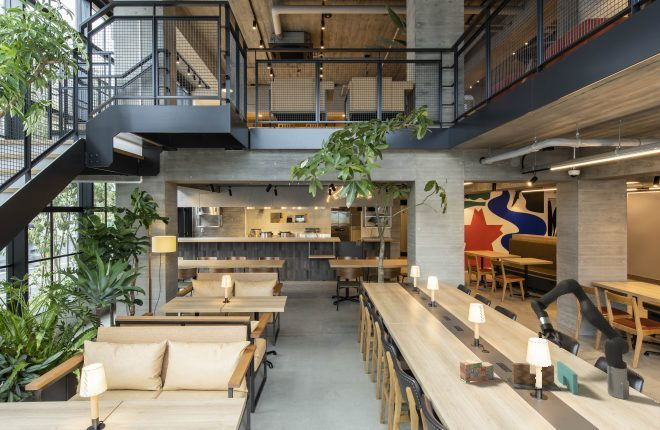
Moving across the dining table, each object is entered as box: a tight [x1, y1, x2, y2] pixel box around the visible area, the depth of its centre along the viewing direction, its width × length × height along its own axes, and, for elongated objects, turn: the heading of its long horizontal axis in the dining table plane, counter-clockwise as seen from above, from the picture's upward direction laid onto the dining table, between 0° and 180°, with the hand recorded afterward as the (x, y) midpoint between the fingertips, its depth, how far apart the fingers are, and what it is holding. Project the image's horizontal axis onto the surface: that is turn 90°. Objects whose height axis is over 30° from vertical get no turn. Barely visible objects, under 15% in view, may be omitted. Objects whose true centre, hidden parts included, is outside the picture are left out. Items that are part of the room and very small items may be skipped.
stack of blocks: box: [459, 358, 495, 382], centre depth 240 cm, size 21×6×12 cm, turn 106°
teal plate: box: [556, 361, 579, 396], centre depth 228 cm, size 20×2×12 cm, turn 172°
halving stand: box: [506, 362, 561, 392], centre depth 231 cm, size 27×12×13 cm, turn 82°
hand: (553, 347), depth 245 cm, fingers open, 8 cm apart
